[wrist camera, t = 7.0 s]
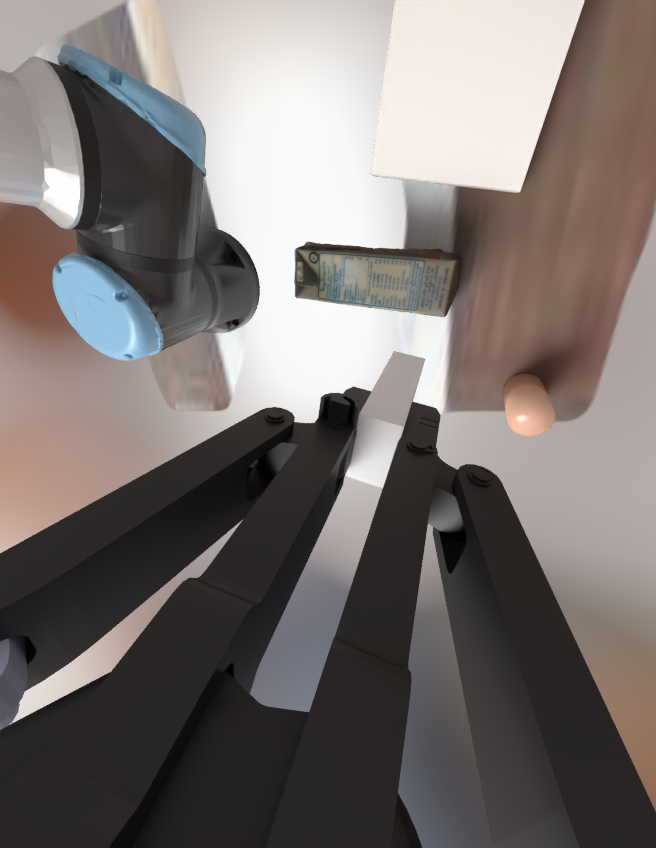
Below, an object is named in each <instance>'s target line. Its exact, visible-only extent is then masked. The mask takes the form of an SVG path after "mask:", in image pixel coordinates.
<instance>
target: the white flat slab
mask: <svg viewBox="0 0 656 848" xmlns="http://www.w3.org/2000/svg"><path fill="white" fill-rule="evenodd" d="M584 1H585V0H395V5H394V12H393V19H392V26H391V33H390V40H389V47H388V54H387V61H386V67H385V74H384V81H383V88H382V95H381V102H380V109H379V117H378V123H377V130H376V137H375V145H374V151H373V158H372V166H371V172H370V174H371V175H374V176H376V177H385V178H393V179H402V180H410V181H419V182H427V183H436V184H445V185H453V186H462V187H470V188H479V189H487V190H496V191H504V192H513V193H518V192H520V191H521V188H522V185H523V182H524V179H525V176H526V173H527V170H528V167H529V164H530V161H531V158H532V155H533V152H534V149H535V146H536V143H537V140H538V137H539V134H540V132H541V129H542V126H543V123H544V120H545V117H546V114H547V111H548V108H549V105H550V102H551V99H552V96H553V93H554V90H555V87H556V84H557V81H558V78H559V75H560V72H561V69H562V66H563V63H564V60H565V57H566V54H567V51H568V49H569V46H570V43H571V40H572V37H573V34H574V31H575V28H576V25H577V22H578V19H579V16H580V13H581V10H582V7H583V4H584Z"/></svg>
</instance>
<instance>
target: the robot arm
mask: <svg viewBox="0 0 656 848" xmlns="http://www.w3.org/2000/svg"><path fill="white" fill-rule="evenodd" d="M58 62H59V64H60V65H61V66H60V65H57V64H55V63H52V62H49V61H46V60H44V59H42V58H39V57H35V56H34V57H30V58H29V59H28V60H26V61H25V62H24V63H23V64H22V65H21V66H20V67H18V68H17V69H16V70H15V71H14V72H13V73H10V72H9V73H8V72H5V71H2V70H0V202H7V203H15V204H23V205H31V206H35V207H37V208H39V209H40V210H41V211H43V212H44V213H45V214H46V215H47V216H48V217H49V218H51V219H52V220H53V221H54V222H55V223H56V224H57V225H58V226H60V227H62V228H66V229H75V230H76V236H77V247H78V253H72V254H68V255H66V256H65V257H64V258H62V259H61V260H60V261H59V264H57V265H56V266H55V268H54V271H53V286H54V292H55V295H56V298H57V301H58V303H59V305H60V307H61V309H62V311H63V313H64V315H65V316H66V318H67V319H68V321H69V322H70V324H71V325H72V326H73V327H74V328H75V329H76V331H77V332H78V333H79V335H80V336H81V337H82V338H83V339H84V340H85V341H86V342H88V343H89V344H90V345H91V346H93V347H94V348H95V349H97V350H98V351H100V352H101V353H103V354H105V355H107V356H109V357H112V358H115V359H119V360H135V359H139V358H141V357H144V356H147V355H154V354H156V353H158V352H160V351H162V350H164V349H166V348H168V347H170V346H172V345H174V344H177V343H179V342H181V341H183V340H185V339H187V338H189V337H191V336H194V335H196V334H198V333H200V332H209V333H226V332H231V331H233V330H236V329H238V328H240V327H242V326H243V325H245V324H246V323H247V322H248V321H249V320H250V319H251V318H252V316H253V315H254V313H255V311H256V309H257V306H258V302H259V296H260V285H259V279H258V274H257V270H256V268H255V265H254V263H253V261H252V259H251V257H250V255H249V253H248V252H247V251H246V249H245V248H244V247H243V246H242V244H240V242H239V241H237V240H236V239H235V238H234V237H232V236H231V235H230V234H228V233H226V232H224V231H222V230H219V229H214V228H199V219H200V208H201V197H202V186H203V177H205V176H206V169H205V167H204V164H205V145H206V135H205V130H204V127H203V125H202V123H201V121H200V120H199V118H198V117H197V116H196V115H195V114H194V113H193V112H192V111H191V110H189V109H188V108H186V107H185V106H183V105H182V104H180V103H179V102H177V101H175V100H174V99H172V98H170V97H169V96H167V95H165V94H164V93H162V92H160V91H158V90H157V89H155V88H153V87H151V86H149V85H148V84H146V83H144V82H142V81H140V80H139V79H137V78H135V77H133V76H131V75H129V74H127V73H125V72H121V71H119V70H118V69H117V68H115V67H113V66H111V65H109V64H107V63H106V62H104V61H102V60H101V59H99V58H97V57H95V56H93V55H91V54H89V53H86V52H84V51H82V50H80V49H78V48H76V47H73V46H70V45H63V46H62V47H61V50H60V54H59V55H58ZM424 361H425V359H424V358H420V357H416V356H412V355H407V354H403V353H399V352H395V351H394V352H393V354H392V356H391V358H390V360H389V361H388V363H387V365H386V367H385V369H384V370H383V372H382V374H381V376H380V378H379V380H378V381H377V383H376V385H375V387H374V388H373V390H372V392H371V391H367V390H364V389H360V388H356V387H352V388H350V389H347V390H346V391H345V392H344V393H343V394H340V393H330V394H325V395H324V396H322V397H321V402H320V410H319V417H318V419H317V420H316V422H315V423H297V422H294V416H293V414H292V413H291V412H289V411H288V410H285V409H282V408H277V407H273V408H266V409H263V410H260V411H259V412H257V413H255V414H253V415H251V416H250V417H248V418H246V419H244V420H242V421H241V422H239V423H237V424H235V425H233V426H231V427H229V428H228V429H226V430H224V431H222V432H220V433H219V434H217V435H215V436H213V437H211V438H210V439H208V440H206V441H204V442H202V443H201V444H199V445H197V446H195V447H193V448H191V449H190V450H188V451H186V452H184V453H182V454H180V455H179V456H177V457H175V458H173V459H171V460H169V461H168V462H166V463H164V464H162V465H161V466H159V467H157V468H155V469H153V470H151V471H149V472H148V473H146V474H144V475H142V476H140V477H139V478H137V479H135V480H133V481H131V482H130V483H128V484H126V485H124V486H122V487H120V488H119V489H117V490H115V491H113V492H111V493H109V494H108V495H106V496H104V497H102V498H100V499H99V500H97V501H95V502H93V503H91V504H89V505H88V506H86V507H84V508H82V509H80V510H79V511H77V512H75V513H73V514H71V515H69V516H68V517H66V518H64V519H62V520H60V521H59V522H57V523H55V524H53V525H51V526H50V527H48V528H46V529H44V530H42V531H40V532H39V533H37V534H35V535H33V536H32V537H29V538H28V539H26V540H24V541H22V542H20V543H19V544H17V545H15V546H13V547H11V548H9V549H8V550H6V551H4V552H2V553H0V848H422V846H421V843H420V840H419V837H418V834H417V832H416V829H415V827H414V824H413V822H412V820H411V818H410V815H409V813H408V811H407V809H406V807H405V805H404V803H403V802H402V799H401V798H400V796H399V794H398V786H399V778H400V771H401V763H402V755H403V747H404V739H405V731H406V724H407V716H408V708H409V699H410V691H411V672H410V671H409V669H408V659H409V652H410V645H411V638H412V631H413V624H414V617H415V610H416V602H417V596H418V589H419V582H420V575H421V567H422V560H423V553H424V546H425V539H426V532H427V525H428V524H430V525H431V526H433V536H434V541H435V547H436V552H437V557H438V563H439V568H440V573H441V578H442V583H443V589H444V594H445V599H446V604H447V609H448V615H449V620H450V625H451V630H452V636H453V641H454V646H455V651H456V656H457V662H458V667H459V672H460V677H461V683H462V688H463V693H464V698H465V704H466V709H467V713H468V719H469V724H470V730H471V734H472V740H473V745H474V750H475V756H476V761H477V766H478V771H479V777H480V782H481V787H482V792H483V797H484V803H485V808H486V813H487V818H488V824H489V828H490V834H491V839H492V844H493V848H656V812H655V810H654V807H653V805H652V803H651V801H650V799H649V797H648V795H647V793H646V790H645V788H644V786H643V784H642V782H641V780H640V778H639V775H638V773H637V771H636V769H635V767H634V765H633V763H632V761H631V758H630V756H629V754H628V752H627V750H626V748H625V745H624V743H623V741H622V739H621V737H620V735H619V733H618V730H617V728H616V726H615V724H614V722H613V720H612V718H611V715H610V713H609V711H608V709H607V707H606V705H605V703H604V700H603V698H602V696H601V694H600V692H599V690H598V688H597V685H596V683H595V681H594V679H593V677H592V675H591V673H590V671H589V668H588V666H587V664H586V662H585V660H584V658H583V656H582V653H581V651H580V649H579V647H578V645H577V643H576V641H575V638H574V636H573V634H572V632H571V630H570V628H569V626H568V623H567V622H566V619H565V617H564V615H563V613H562V611H561V608H560V607H559V604H558V602H557V600H556V598H555V596H554V594H553V591H552V589H551V587H550V585H549V583H548V581H547V579H546V577H545V574H544V572H543V570H542V568H541V566H540V564H539V562H538V559H537V557H536V555H535V553H534V551H533V549H532V546H531V544H530V542H529V540H528V538H527V536H526V534H525V531H524V529H523V527H522V525H521V523H520V521H519V519H518V517H517V514H516V512H515V510H514V508H513V506H512V504H511V502H510V499H509V497H508V495H507V493H506V491H505V489H504V487H503V485H502V483H501V481H500V479H499V478H498V477H497V476H496V475H495V474H494V473H492V472H491V471H490V470H488V469H486V468H484V467H481V466H477V465H471V464H466V465H463V466H461V467H460V468H459V469H458V470H457V469H455V468H453V467H451V466H449V465H448V464H446V463H445V462H443V461H442V460H441V459H440V458H439V457H438V455H437V454H438V452H437V448H436V442H437V435H438V428H439V422H440V414H439V412H438V410H437V409H436V408H434V407H430V406H426V405H422V404H419V403H415V402H413V399H414V395H415V392H416V388H417V385H418V382H419V378H420V375H421V372H422V368H423V365H424ZM347 469H348V471H347ZM346 471H347V477H350V478H353V479H356V480H359V481H362V482H365V483H368V484H371V485H374V486H377V487H380V488H383V490H382V493H381V496H380V499H379V502H378V505H377V508H376V511H375V514H374V517H373V521H372V524H371V527H370V530H369V533H368V536H367V539H366V542H365V545H364V548H363V551H362V555H361V558H360V561H359V564H358V567H357V570H356V573H355V576H354V579H353V583H352V585H351V589H350V592H349V595H348V598H347V601H346V604H345V607H344V610H343V613H342V616H341V619H340V623H339V626H338V629H337V632H336V635H335V637H334V639H333V642H332V645H331V648H330V651H329V654H328V657H327V660H326V663H325V666H324V669H323V672H322V675H321V678H320V681H319V684H318V687H317V691H316V694H315V697H314V700H313V703H312V706H311V709H310V712H302V711H295V710H288V709H280V708H273V707H267V706H264V705H262V704H260V703H259V702H257V701H256V700H255V699H254V698H253V697H252V696H251V695H250V691H251V688H252V685H253V682H254V678H255V675H256V672H257V669H258V667H259V664H260V662H261V660H262V658H263V655H264V653H265V651H266V649H267V647H268V644H269V642H270V640H271V638H272V636H273V634H274V632H275V629H276V627H277V625H278V623H279V621H280V619H281V617H282V615H283V612H284V610H285V608H286V606H287V604H288V602H289V600H290V597H291V595H292V593H293V591H294V589H295V587H296V585H297V582H298V580H299V578H300V576H301V574H302V572H303V570H304V567H305V565H306V563H307V561H308V559H309V556H310V554H311V552H312V550H313V548H314V546H315V544H316V541H317V539H318V537H319V535H320V533H321V531H322V529H323V527H324V524H325V522H326V520H327V518H328V516H329V513H330V512H331V509H332V507H333V505H334V503H335V501H336V499H337V496H338V494H339V492H340V490H341V488H342V485H343V481H344V476H345V473H346ZM241 520H243V521H242V522H241V523H240V525H239V526H238V527H237V529H236V530H235V532H234V533H233V534H232V536H231V537H230V538H229V540H228V541H227V542H226V544H225V545H224V546H223V548H222V549H221V550H220V552H219V553H218V554H217V556H216V557H215V559H214V560H213V561H212V563H211V564H210V565H209V567H208V568H207V569H206V571H205V572H204V573H203V574H202V575H201V576H200V577H199V578H188V579H187V580H185V581H183V582H182V583H181V584H180V586H179V587H178V588H177V589H176V590H175V591H174V592H173V593H172V595H171V596H170V597H169V599H168V600H167V601H166V603H165V604H164V605H163V606H162V607H161V609H160V610H159V611H158V613H157V614H156V615H155V617H154V618H153V619H152V620H151V622H150V623H149V624H148V625H147V627H146V628H145V629H144V631H143V632H142V633H141V634H140V636H139V637H138V638H137V639H136V641H135V642H134V643H133V645H132V646H131V647H130V648H129V650H128V651H127V653H126V654H125V655H124V656H123V657H122V659H121V660H120V661H119V663H118V664H117V665H116V666H115V668H114V669H113V670H112V672H110V673H108V674H106V675H104V676H102V677H100V678H98V679H96V680H94V681H92V682H90V683H89V684H87V685H85V686H83V687H81V688H79V689H77V690H75V691H73V692H71V693H70V694H68V695H66V696H64V697H62V698H60V699H58V700H56V701H54V702H52V703H50V704H49V705H47V706H45V707H43V708H41V709H39V710H37V711H35V712H33V713H31V714H29V715H28V716H26V717H24V718H22V719H20V720H18V721H16V722H14V723H12V724H10V723H11V722H12V721H13V720H14V718H15V716H16V715H17V713H18V709H19V702H20V700H21V699H22V697H23V694H24V692H25V691H26V690H28V689H30V688H31V687H33V686H35V685H37V684H38V683H40V682H42V681H43V680H45V679H46V678H48V677H49V676H51V675H52V674H54V673H55V672H57V671H58V670H60V669H61V668H63V667H64V666H66V665H67V664H69V663H70V662H72V661H73V660H74V659H75V658H77V657H78V656H79V655H81V654H82V653H83V652H85V651H86V650H87V649H88V648H90V647H91V646H92V645H93V644H95V643H96V642H97V641H98V640H100V638H102V637H103V636H104V635H106V634H107V633H108V632H109V631H110V630H112V629H113V628H114V627H115V626H116V625H117V624H119V623H120V622H121V621H122V620H123V619H125V618H126V617H127V616H128V615H129V614H131V613H132V612H133V611H134V610H135V609H136V608H138V607H139V606H140V605H141V604H143V603H144V602H145V601H146V600H147V599H148V598H150V597H151V596H152V595H153V594H154V593H156V592H157V591H158V590H159V589H160V588H161V587H163V586H164V585H165V584H166V583H168V582H169V581H170V580H171V579H172V578H173V577H175V576H176V575H177V574H178V573H179V572H181V571H182V570H183V569H184V568H185V567H186V566H188V565H189V564H190V563H191V562H192V561H194V560H195V559H196V558H197V557H198V556H200V555H201V554H202V553H203V552H204V551H206V550H207V549H208V548H209V547H210V546H211V545H213V544H214V543H215V542H216V541H218V540H219V539H220V538H221V537H222V536H223V535H225V534H226V533H227V532H228V531H229V530H230V529H232V528H233V527H234V526H235V525H237V524H238V523H239V522H240V521H241ZM9 724H10V725H9Z"/></svg>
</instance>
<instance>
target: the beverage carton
mask: <svg viewBox="0 0 656 848" xmlns="http://www.w3.org/2000/svg"><path fill="white" fill-rule="evenodd" d="M460 262H461V256H460V255H455V254H451V253H446V252H443V251H442V250H440V249H431V250H429V249H386V248H376V249H373V248H365V247H360V246H343V245H331V244H317V243H313V242H306V243H305V245H304V246H301V247H299V248H297V249H295V297H296V298H303V299H310V300H318V301H324V302H331V303H337V304H346V305H352V306H361V307H368V308H376V309H384V310H393V311H401V312H410V313H417V314H424V315H431V316H440V317H445V316H446V315H447V313H448V311H449V309H450V306H451V305H452V302H453V300H454V297H455V294H456V290H457V287H458V281H459V275H460Z"/></svg>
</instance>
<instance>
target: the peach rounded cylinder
mask: <svg viewBox="0 0 656 848" xmlns="http://www.w3.org/2000/svg"><path fill="white" fill-rule="evenodd" d="M503 398H504V403H505V409H506V414H507V419H508V424H509V426H510V427H511V429H512V430H513V431H515V432H516V433H518V434H521V435H525V436H534V435H539V434H541V433H544V432H546V431H547V430H548V429H549V428H551V426H552V425H553V423H554V421H555V411H554V409H553V406H552V404H551V401H550V399H549V397H548V394H547V392H546V390H545V387H544V385H543V383H542V381H541V380H540V379H539V378H538V377H537V376H535V375H532V374H518V375H515V376H513V377H512V378H510V379H509V380H508V381H507V382H506V383H505V385H504V387H503Z"/></svg>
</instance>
